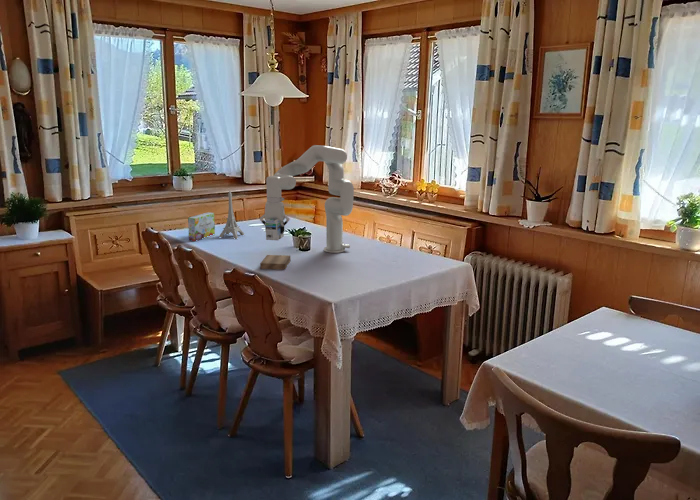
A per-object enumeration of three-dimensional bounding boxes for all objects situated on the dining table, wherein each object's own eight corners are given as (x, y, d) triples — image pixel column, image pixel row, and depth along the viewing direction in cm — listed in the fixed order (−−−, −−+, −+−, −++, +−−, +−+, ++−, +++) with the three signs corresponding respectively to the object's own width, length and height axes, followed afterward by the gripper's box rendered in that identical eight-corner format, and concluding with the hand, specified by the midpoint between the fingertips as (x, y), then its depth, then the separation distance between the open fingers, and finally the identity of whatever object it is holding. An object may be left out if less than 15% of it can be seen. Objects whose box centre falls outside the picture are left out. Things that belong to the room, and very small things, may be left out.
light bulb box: (277, 240, 289) (277, 220, 287) (265, 240, 290) (264, 219, 288) (284, 236, 299) (283, 216, 297) (272, 235, 301) (271, 216, 298)
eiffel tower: (245, 235, 367) (243, 189, 360) (237, 239, 355) (235, 192, 347) (226, 233, 370) (224, 189, 363) (217, 238, 358) (215, 191, 350)
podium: (290, 260, 306) (290, 255, 306) (285, 269, 290) (284, 264, 289) (267, 260, 307) (267, 254, 307) (260, 268, 291) (260, 263, 290)
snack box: (196, 241, 348) (194, 218, 344) (188, 241, 350) (187, 217, 346) (215, 234, 367) (214, 212, 363) (208, 234, 369) (207, 211, 365)
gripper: (291, 199, 293) (292, 232, 297) (259, 198, 294) (260, 231, 298) (289, 201, 286) (290, 235, 290) (256, 200, 287) (257, 234, 291)
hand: (274, 233), depth 294 cm, fingers closed on light bulb box, 7 cm apart
